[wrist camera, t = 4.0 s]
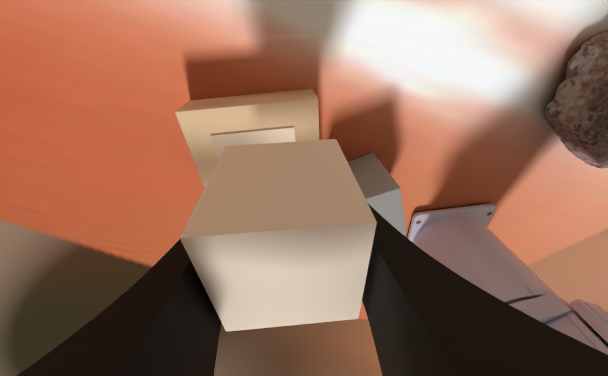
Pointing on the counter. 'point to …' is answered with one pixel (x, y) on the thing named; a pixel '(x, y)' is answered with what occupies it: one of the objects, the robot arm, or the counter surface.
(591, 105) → the rock
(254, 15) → the counter surface
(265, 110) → the maple slab
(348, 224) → the ivory cube
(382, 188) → the slate cube
